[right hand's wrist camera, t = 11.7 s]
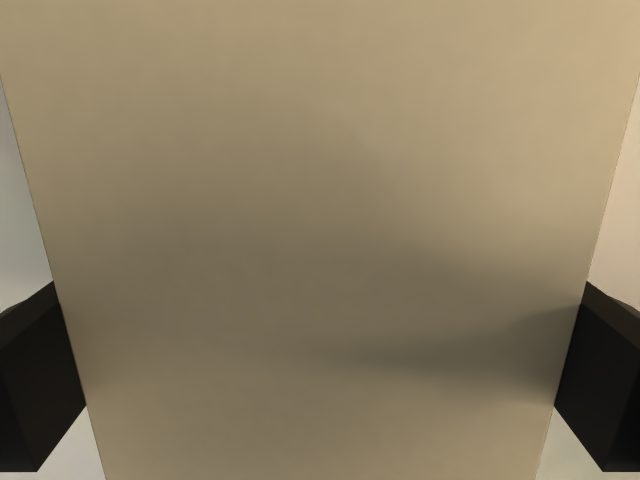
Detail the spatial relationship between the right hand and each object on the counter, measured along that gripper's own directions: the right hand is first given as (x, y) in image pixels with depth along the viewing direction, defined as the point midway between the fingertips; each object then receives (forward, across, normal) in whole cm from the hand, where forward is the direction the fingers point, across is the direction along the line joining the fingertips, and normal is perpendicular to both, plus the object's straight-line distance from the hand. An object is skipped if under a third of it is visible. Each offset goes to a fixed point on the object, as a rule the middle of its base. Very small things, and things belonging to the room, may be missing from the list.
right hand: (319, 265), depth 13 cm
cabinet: (+4, 0, -6) cm, 8 cm away
